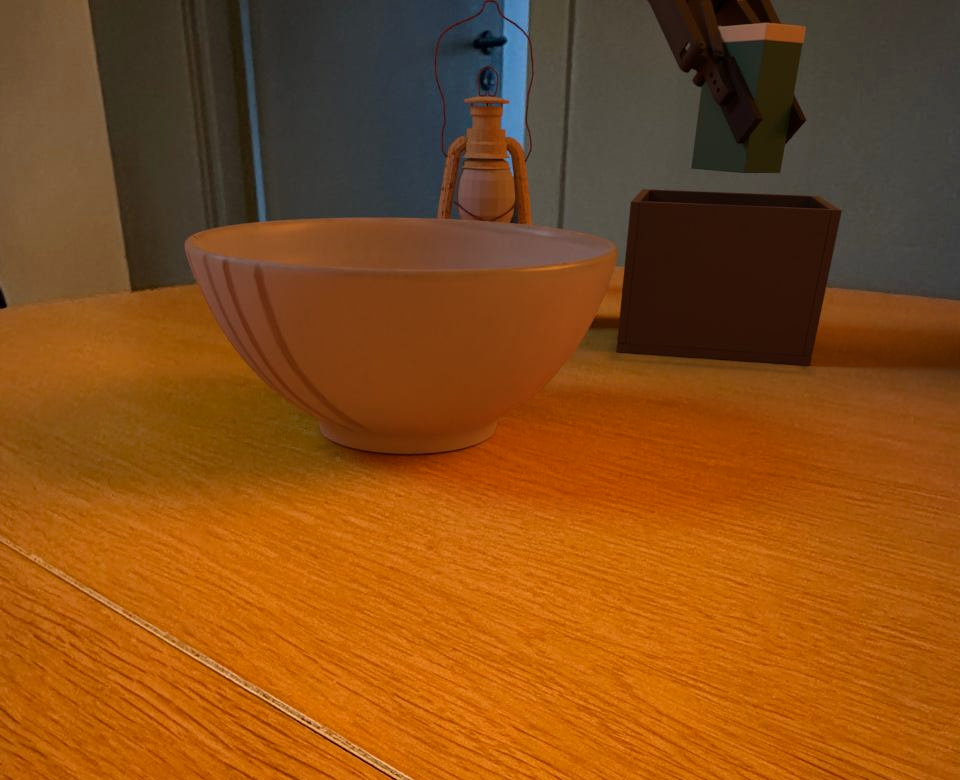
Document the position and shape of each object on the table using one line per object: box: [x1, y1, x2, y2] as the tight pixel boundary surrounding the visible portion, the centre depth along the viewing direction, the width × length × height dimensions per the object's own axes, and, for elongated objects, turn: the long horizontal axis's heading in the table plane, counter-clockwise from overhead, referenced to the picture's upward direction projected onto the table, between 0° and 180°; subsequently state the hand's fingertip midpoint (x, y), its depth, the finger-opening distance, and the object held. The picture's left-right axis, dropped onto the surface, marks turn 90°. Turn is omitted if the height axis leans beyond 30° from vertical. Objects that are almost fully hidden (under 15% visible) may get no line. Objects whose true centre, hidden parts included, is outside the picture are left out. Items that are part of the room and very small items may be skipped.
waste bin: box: [615, 188, 843, 367], centre depth 87 cm, size 18×18×13 cm
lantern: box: [433, 0, 535, 225], centre depth 105 cm, size 12×10×30 cm
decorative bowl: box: [184, 217, 619, 455], centre depth 60 cm, size 27×27×12 cm
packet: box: [690, 23, 807, 174], centre depth 80 cm, size 5×7×11 cm, turn 30°
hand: (771, 131), depth 78 cm, fingers closed on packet, 4 cm apart
